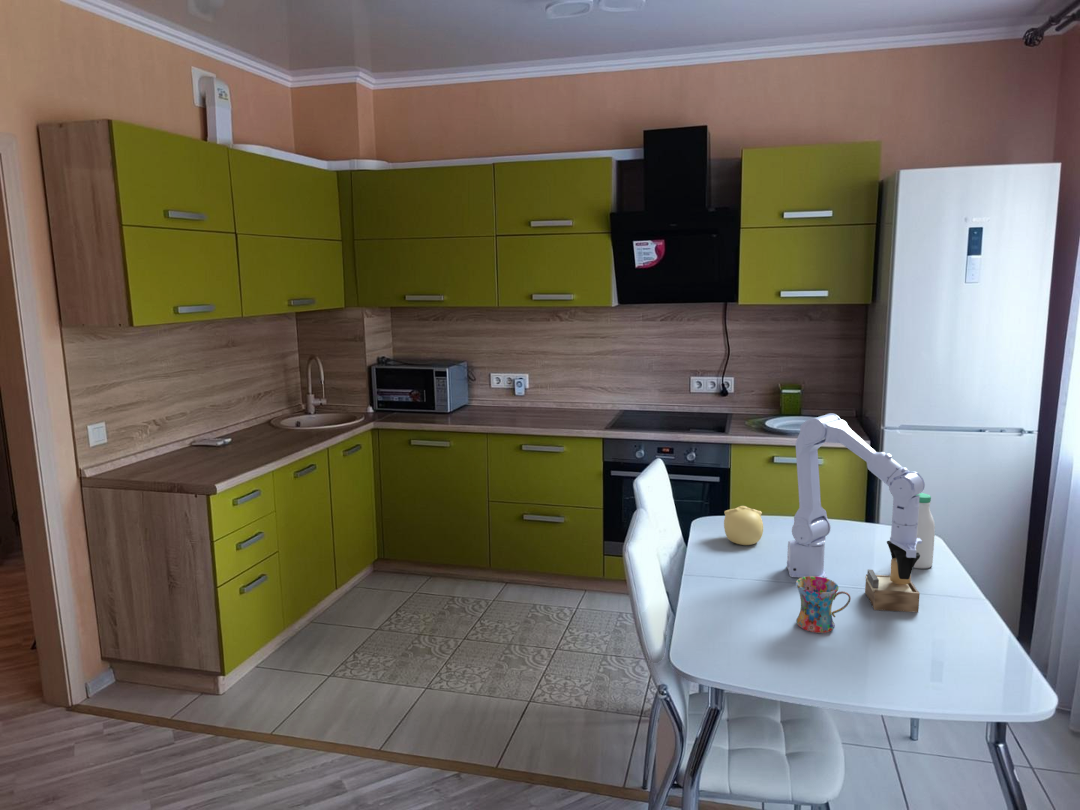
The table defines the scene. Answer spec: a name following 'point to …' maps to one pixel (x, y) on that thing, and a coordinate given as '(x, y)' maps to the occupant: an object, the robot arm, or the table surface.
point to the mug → (817, 603)
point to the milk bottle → (925, 533)
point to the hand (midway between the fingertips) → (901, 574)
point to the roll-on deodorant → (894, 574)
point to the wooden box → (893, 598)
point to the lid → (884, 583)
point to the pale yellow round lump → (743, 525)
